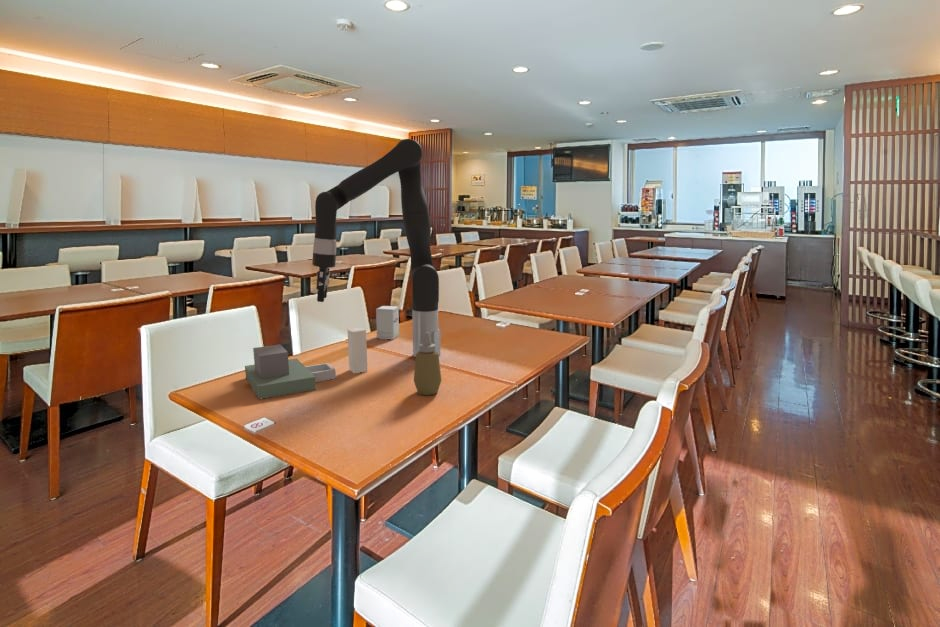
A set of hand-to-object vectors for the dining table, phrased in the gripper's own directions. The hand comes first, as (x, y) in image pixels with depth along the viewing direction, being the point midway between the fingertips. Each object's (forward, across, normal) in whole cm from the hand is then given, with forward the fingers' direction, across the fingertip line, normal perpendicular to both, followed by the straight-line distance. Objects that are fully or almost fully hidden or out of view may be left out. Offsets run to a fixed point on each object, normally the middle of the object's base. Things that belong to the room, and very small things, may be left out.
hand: (321, 299), depth 181 cm
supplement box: (+19, +31, -24) cm, 44 cm away
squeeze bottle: (+19, -36, -35) cm, 54 cm away
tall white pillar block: (+21, -13, -14) cm, 28 cm away
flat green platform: (+23, -20, +5) cm, 31 cm away
